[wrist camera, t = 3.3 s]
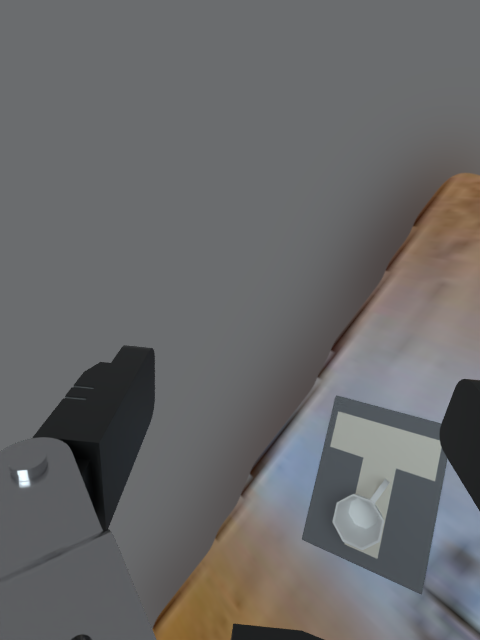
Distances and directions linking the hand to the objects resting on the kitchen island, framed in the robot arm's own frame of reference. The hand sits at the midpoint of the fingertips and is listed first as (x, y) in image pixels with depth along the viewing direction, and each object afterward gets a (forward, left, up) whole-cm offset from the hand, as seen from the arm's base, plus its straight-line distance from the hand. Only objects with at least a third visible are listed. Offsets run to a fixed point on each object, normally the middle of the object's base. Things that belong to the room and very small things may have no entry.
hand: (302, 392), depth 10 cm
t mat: (-6, +8, -58) cm, 59 cm away
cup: (-8, +10, -58) cm, 60 cm away
